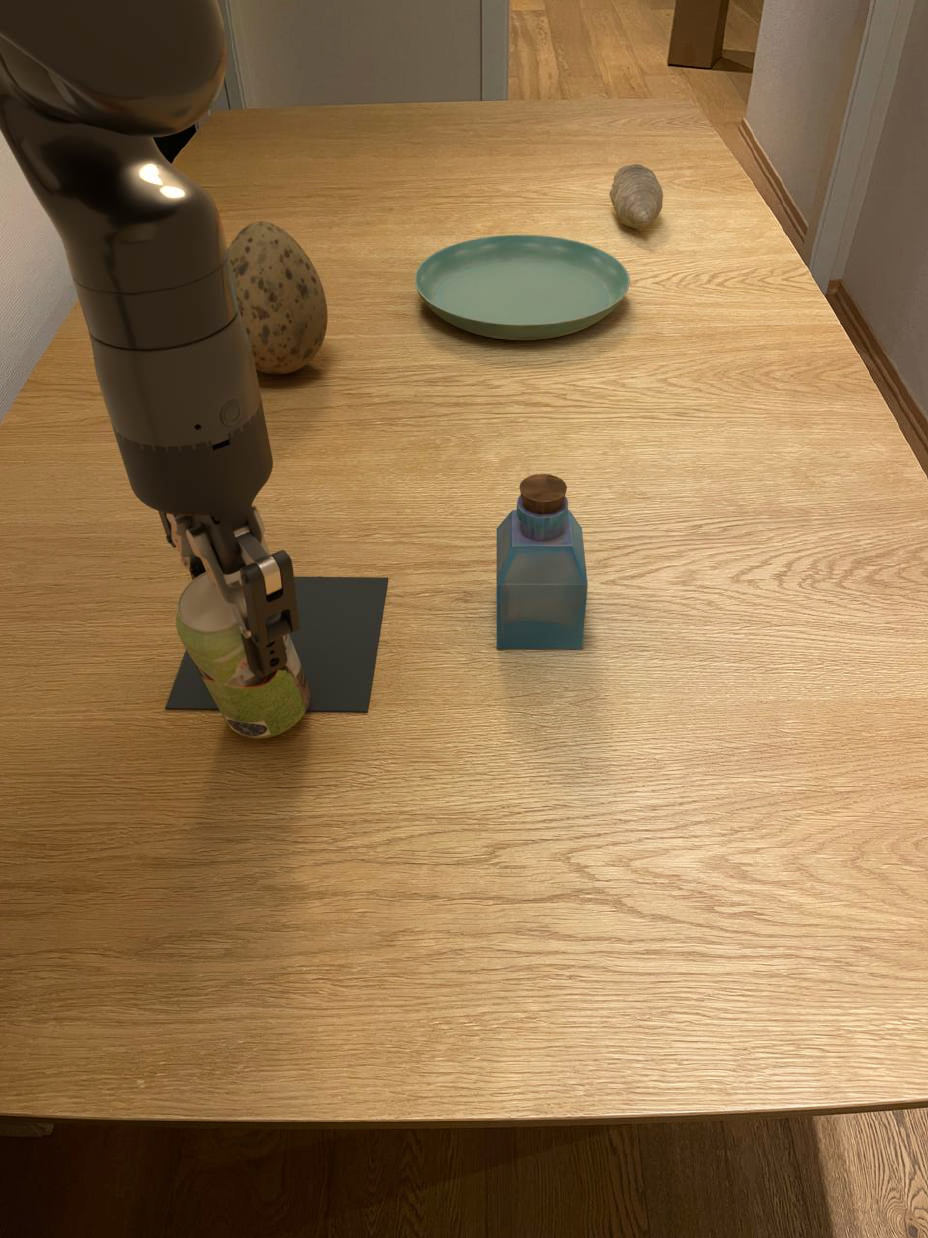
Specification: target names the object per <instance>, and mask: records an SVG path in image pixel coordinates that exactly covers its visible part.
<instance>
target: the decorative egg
mask: <svg viewBox="0 0 928 1238" xmlns="http://www.w3.org/2000/svg"><path fill="white" fill-rule="evenodd" d="M227 248H228V253H229V258H230V263H231V269H232V274H233V279H234V284H235V290H236V295H237V300H238V306H239V310H240V314H241V318H242V321H243V324H244V327H245V329H246V332H247V335H248V338H249V341H250V345H251V348H252V353H253V357H254V362H255V367H256V371H259V372H262V373H265V374H269V375H287V374H291V373H294V372H297V371H298V370H300V369H302V368H304V367H305V366H306V365H308V364H310V362H311V361H313V359H314V357H315V356H316V355H317V354H318V353H319V351H320V349H321V347H322V346H323V343H324V340H325V337H326V333H327V329H328V316H329V315H328V304H327V298H326V293H325V290H324V287H323V284H322V281H321V278H320V275H319V273H318V271H317V269H316V268H315V266H314V264H313V262H312V261H311V258H310V257H309V256H308V254H307V253H306V251H305V250H304V248H303V247H302V246H301V245H300V244H299V243H298V242H297V240H295V238H294V237H293V236H292V235H291V234H289V232H287V231H286V230H284V229H283V228H282V227H280V226H278V225H276V224H274V223H273V222H269V221H264V220H260V221H254V222H251V223H249V224H247V225H246V226H244V227H243V228H242V229H240V230H239V232H238V233H237V234H236V235H235V237H234V238H233V239H232V240H231V242H230V244H229V246H227Z"/></svg>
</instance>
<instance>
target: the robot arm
mask: <svg viewBox="0 0 928 1238" xmlns="http://www.w3.org/2000/svg"><path fill="white" fill-rule="evenodd" d="M227 42H228V41H227V34H226V30H225V24H224V20H223V15H222V12H221V8H220V6H219V3H218V0H0V132H1V134H2V136H3V138H4V140H5V141H6V144H7V147H8V149H10V151H11V153H12V155H13V157H14V159H15V160H16V163H17V164H18V167H19V168H20V170H21V172H22V173H23V175H24V178H25V179H26V182H27V183H28V185H29V187H30V189H31V192H33V194H34V196H35V197H36V199H37V201H38V202H39V204H40V206H41V208H42V209H43V211H44V212H45V214H46V215H47V217H48V218H49V220H50V222H51V224H52V225H53V227H54V229H55V231H56V232H57V234H58V237H59V238H60V240H61V243H62V246H63V249H64V253H65V257H66V261H67V264H68V268H69V272H70V275H71V278H72V282H73V284H74V287H75V291H76V294H77V297H78V301H79V304H80V307H81V310H82V314H83V317H84V320H85V323H86V327H87V331H88V335H89V339H90V343H91V349H92V355H93V363H94V369H95V374H96V378H97V382H98V385H99V389H100V392H101V395H102V398H103V401H104V404H105V407H106V408H105V409H106V411H107V415H108V417H109V420H110V424H111V427H112V431H113V433H114V436H115V441H116V443H117V446H118V449H119V453H120V456H121V459H122V462H123V465H124V469H125V471H126V475H127V478H128V481H129V485H130V488H131V490H132V492H133V494H134V495H135V496H136V498H137V499H138V500H139V501H141V503H142V504H144V505H145V506H147V507H149V508H150V509H152V510H155V511H157V512H158V514H159V517H160V521H161V524H162V527H163V530H164V532H165V535H166V536H165V539H166V541H167V543H168V544H170V546H171V547H172V548H173V549H175V548H176V549H177V550H178V553H179V557H180V562H181V564H182V566H183V567H185V569H186V570H187V571H188V572H189V573H190V577H191V581H192V580H194V579H195V578H196V577H198V576H199V575H201V574H203V573H205V572H207V574H208V577H209V579H210V582H211V584H212V586H213V589H214V591H215V594H216V596H217V597H218V598H219V599H220V600H222V601H224V602H227V603H229V604H230V607H231V609H232V611H233V614H234V616H235V619H236V621H237V624H238V629H239V631H240V633H241V637H242V641H243V645H244V649H245V653H246V657H247V661H248V665H249V669H250V670H251V672H252V673H253V674H254V675H255V676H256V677H257V678H263V677H265V676H267V675H269V674H271V673H273V672H275V671H277V670H279V669H281V668H282V667H284V666H285V665H286V663H287V654H286V650H285V645H284V640H283V636H285V635H287V634H289V633H293V632H295V631H297V630H299V628H300V627H299V618H298V609H297V600H296V591H295V582H294V577H295V574H294V566H293V561H292V558H291V556H290V555H289V554H288V552H287V551H286V550H285V549H280V550H278V551H276V552H274V553H272V554H271V552H270V550H269V547H268V544H267V542H266V539H265V531H266V527H265V524H264V522H263V519H262V517H261V514H260V512H259V509H258V508H257V506H256V505H255V504H254V501H255V499H256V497H257V496H258V494H259V493H260V492H261V490H262V489H263V488H264V486H265V485H266V484H267V482H269V479H270V477H271V475H272V472H273V469H274V467H273V466H274V460H273V459H274V458H273V453H272V449H271V443H270V437H269V432H268V427H267V421H266V417H265V411H264V405H263V400H262V395H261V390H260V385H259V379H258V373H257V369H256V367H255V362H254V357H253V353H252V348H251V345H250V341H249V338H248V335H247V332H246V329H245V327H244V324H243V321H242V318H241V314H240V310H239V306H238V300H237V295H236V290H235V284H234V279H233V274H232V269H231V263H230V258H229V253H228V244H227V240H226V235H225V230H224V226H223V223H222V219H221V215H220V212H219V210H218V207H217V205H216V203H215V201H214V198H213V197H212V196H211V194H210V193H209V192H208V191H207V189H205V188H204V187H203V186H202V185H201V184H200V183H198V182H197V181H196V180H193V179H192V178H191V177H189V176H188V175H186V174H185V173H183V172H182V171H180V170H179V169H178V168H177V167H175V166H174V165H173V164H172V163H171V162H170V161H168V159H167V158H166V156H164V154H163V153H162V152H161V150H160V149H159V147H158V145H157V143H156V141H155V139H154V138H162V137H167V136H172V135H175V134H178V133H181V132H183V131H185V130H187V129H189V128H191V127H193V126H194V125H196V124H197V123H198V122H200V121H201V119H202V118H204V117H205V116H206V115H207V113H208V112H209V111H210V110H211V108H212V107H213V105H214V104H215V102H216V101H217V99H218V97H219V94H220V93H221V90H222V87H223V84H224V82H225V77H226V73H227V66H228V43H227ZM238 571H240V574H241V577H239V580H237V581H235V582H233V583H231V584H227V583H226V580H225V578H224V575H230V574H233V573H236V572H238ZM244 598H245V604H246V608H245V605H244V603H243V600H244ZM246 609H247V610H246Z"/></svg>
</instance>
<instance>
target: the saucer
mask: <svg viewBox="0 0 928 1238" xmlns="http://www.w3.org/2000/svg"><path fill="white" fill-rule="evenodd" d="M630 284H631V278H630V273H629V272H628V270H627V268H626V267H625V266H624V264H623V263H622V262H621V261H620V260H619V259H617V258H616V257H615V256H613V255H612V254H610V253H609V252H607V251H605V250H602V249H600V248H598V247H596V246H594V245H591V244H587V243H584V242H580V241H577V240H573V239H570V238H569V239H568V238H564V237H556V236H552V235H551V236H550V235H540V234H539V235H538V234H502V235H501V234H500V235H492V236H484V237H477V238H474V239H468V240H464V241H460V242H457V243H453V244H450V245H448V246H446V247H444V248H441V249H439V250H438V251H436V252H434V253H432V254H430V255H429V256H427V257H426V258H425V259H424V260H423V261H422V262H421V263H420V264H419V265H418V267H417V269H416V271H415V273H414V285H415V288H416V290H417V293H418V295H419V297H420V298H421V299H422V300H423V302H424V303H425V304H426V306H427V307H428V308H429V309H430V310H432V312H434V314H435V315H436V316H438V317H439V318H441V319H442V320H444V321H445V322H447V323H449V324H450V325H452V326H454V327H456V328H458V329H460V330H462V331H466V332H468V333H470V334H474V335H478V336H483V337H485V338H486V337H487V338H491V339H497V340H505V341H538V340H547V339H548V340H549V339H553V338H559V337H564V336H568V335H571V334H574V333H577V332H579V331H583V330H585V329H587V328H588V327H591V326H593V325H594V324H597V323H598V322H599V321H601V320H602V319H604V318H605V317H607V316H608V315H610V314H611V312H613V311H614V310H615V309H616V308H617V307H618V306H619V305H620V304H621V302H622V301H623V300H624V298H625V296H626V294H627V293H628V291H629V288H630Z"/></svg>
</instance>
